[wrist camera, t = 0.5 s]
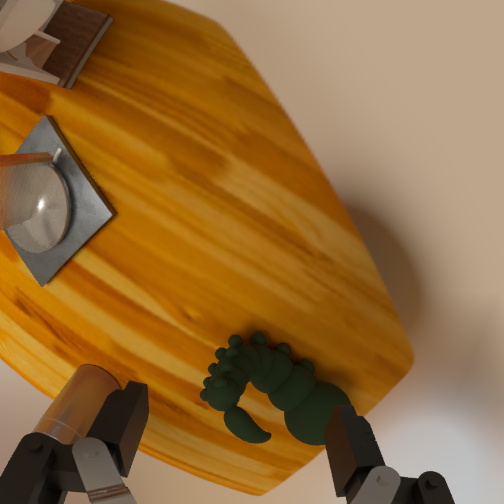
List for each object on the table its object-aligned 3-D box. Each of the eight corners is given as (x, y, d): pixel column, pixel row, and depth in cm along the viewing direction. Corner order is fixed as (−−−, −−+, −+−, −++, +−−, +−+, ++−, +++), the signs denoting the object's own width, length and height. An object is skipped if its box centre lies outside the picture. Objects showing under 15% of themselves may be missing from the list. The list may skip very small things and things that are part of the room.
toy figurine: (210, 341, 46) (325, 424, 48) (173, 428, 28) (335, 513, 30) (253, 299, 44) (368, 393, 46) (232, 380, 26) (395, 481, 28)
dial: (53, 267, 40) (-5, 306, 27) (-1, 220, 38) (-62, 244, 25) (90, 177, 36) (23, 191, 23) (28, 133, 34) (-40, 135, 21)
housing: (46, 283, 42) (40, 287, 41) (-9, 196, 39) (-16, 198, 37) (117, 213, 39) (111, 215, 37) (51, 115, 35) (44, 114, 33)
